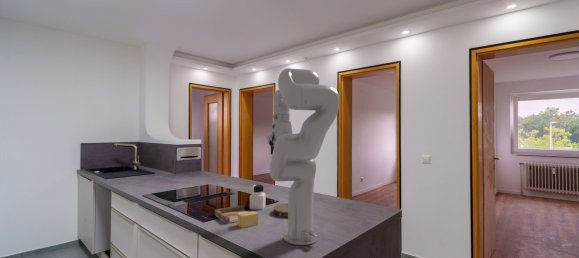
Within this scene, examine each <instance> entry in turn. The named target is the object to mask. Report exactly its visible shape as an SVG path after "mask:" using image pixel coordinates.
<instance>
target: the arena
mask: <svg viewBox="0 0 579 258" xmlns="http://www.w3.org/2000/svg"><path fill="white" fill-rule="evenodd" d="M213 211H214V213H213V214H214V215H215V217H217V218H218V219H219V220H220V221H222V222H223V223H225V224H226V225H228V224H234V223H238V214H240V213H245V212H248V211H247V210H245V205H243V204H242V205H235V206H229V207H223V208H216V209H214V210H213Z"/></svg>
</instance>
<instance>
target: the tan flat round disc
mask: <svg viewBox="0 0 579 258" xmlns="http://www.w3.org/2000/svg"><path fill="white" fill-rule="evenodd" d="M273 215H274V216H276V217H279V218H283V219H284V218H287V219H288V202H287V203H280V204H275V205H274V206H273Z"/></svg>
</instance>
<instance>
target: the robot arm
mask: <svg viewBox="0 0 579 258" xmlns="http://www.w3.org/2000/svg"><path fill="white" fill-rule="evenodd" d="M277 85H278V89H277V90H276V91H275V92H274V93H273V115H272V117H271V118H272V119H273V121H272V124H271V131H270V132H271V133H270V134H268V135H267V136H266V141H267V143H268V145H269V147H270V155H271V159H270V163H269V175H270V178H271V179H272V180H273V181H274V182H293V183H292V184H291V185H290V187H289V188H288V189H289V190H288V193H287V194H288V196H287V203H288V218H287V232H285V233H284V235H283V239H284V241H285V242H286V243H287V244H290V245H295V246H308V245H309V246H310V245H312V244H314V243H316V242H317V241H318V239H319V236H318V235H317V234H316V233H315V228H314V186H315V185H314V184H315V177H316V174H317V173H316V172H317V162H316V161H315V159H316V158H317V157H318V155H319V153H320V150H321V148H322V146H323V143H324V141H325V138H326V136H327V135H326V134H327V133H328V131H329V129H330V127H331V126H332V125H333V123H334V122H335V120H336V118H337V116H338V112H339V108H340V102H341V101H340V94H339V92H338V91H337V89H336V88H334V87H332V86H330V85H325V84H320V77H319V76H318V74H317V73H316V72H315V71H313V70H312V69H311V70H310V69H303V68H302V69H301V68H290V67H289V68H284V69H283V70H282V71H281V72H280V73H279V75H278V80H277ZM290 110H293V111H315V112H313V113H312V114H311V115H309V116H308V117H307V118H306V119H305V120H304V121H303V123H302V125H301V128H300V130H299V132H298V133H293V127H292V121H291V120H290Z"/></svg>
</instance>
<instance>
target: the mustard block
mask: <svg viewBox="0 0 579 258" xmlns="http://www.w3.org/2000/svg"><path fill="white" fill-rule="evenodd" d="M258 225H259V213H258V212H257V211H254V210H253V211H247V212H245V213H240V214H238V222H237V227H239V228H241V229H243V228H248V227H254V226H258Z"/></svg>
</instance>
